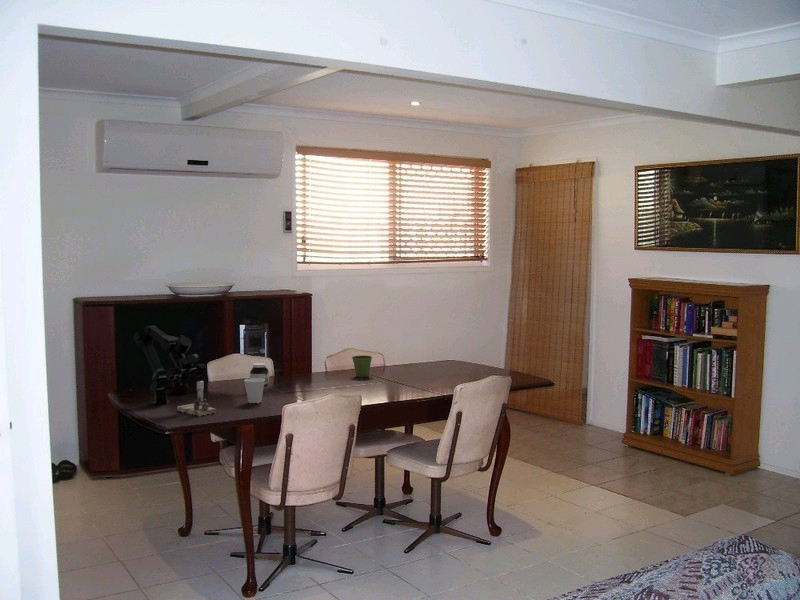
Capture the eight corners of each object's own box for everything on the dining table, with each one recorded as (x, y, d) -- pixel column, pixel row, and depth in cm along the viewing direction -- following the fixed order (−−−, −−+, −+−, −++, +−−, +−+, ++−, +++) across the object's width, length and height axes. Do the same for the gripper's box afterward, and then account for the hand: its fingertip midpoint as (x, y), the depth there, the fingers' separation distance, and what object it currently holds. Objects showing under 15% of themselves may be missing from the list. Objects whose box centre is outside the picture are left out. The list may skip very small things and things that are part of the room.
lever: (195, 405, 364) (195, 381, 363) (201, 404, 367) (200, 380, 366) (199, 406, 362) (199, 382, 361) (205, 405, 365) (204, 381, 364)
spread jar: (258, 387, 425) (258, 365, 424) (242, 385, 431) (242, 364, 430) (273, 384, 435) (273, 362, 434) (257, 382, 441) (257, 361, 440)
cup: (245, 400, 392) (245, 378, 391) (266, 400, 392) (265, 377, 391) (243, 404, 382) (242, 382, 381) (264, 404, 383) (263, 381, 382)
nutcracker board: (177, 410, 369) (177, 397, 369) (194, 407, 376) (193, 395, 376) (199, 416, 358) (199, 403, 357) (216, 413, 364) (216, 400, 364)
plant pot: (350, 375, 461) (350, 355, 460) (371, 374, 463) (370, 355, 462) (353, 378, 450) (352, 358, 449) (374, 378, 452) (374, 358, 451)
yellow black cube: (200, 390, 418) (200, 371, 418) (188, 393, 409) (187, 374, 408) (185, 388, 423) (184, 370, 422) (172, 392, 414) (171, 373, 413)
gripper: (168, 351, 362) (183, 378, 356) (203, 346, 376) (218, 372, 370) (159, 366, 368) (173, 393, 362) (194, 361, 382) (208, 387, 375)
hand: (194, 386), depth 367 cm, fingers closed
